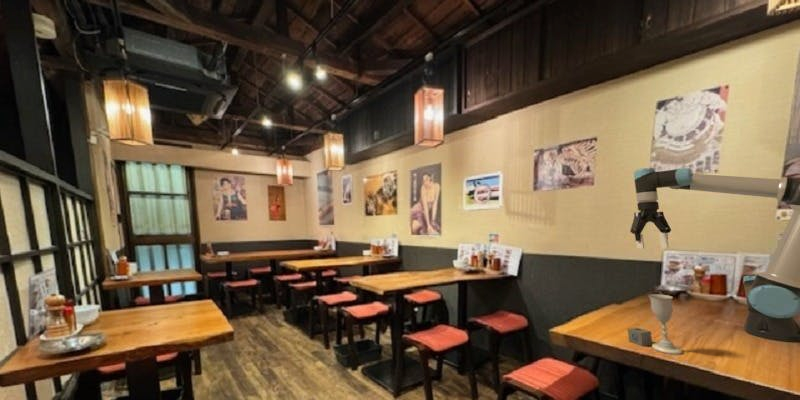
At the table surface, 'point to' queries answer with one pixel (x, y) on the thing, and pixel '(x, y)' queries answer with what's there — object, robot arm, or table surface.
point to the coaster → (672, 352)
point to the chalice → (662, 316)
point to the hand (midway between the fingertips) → (652, 247)
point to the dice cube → (640, 336)
